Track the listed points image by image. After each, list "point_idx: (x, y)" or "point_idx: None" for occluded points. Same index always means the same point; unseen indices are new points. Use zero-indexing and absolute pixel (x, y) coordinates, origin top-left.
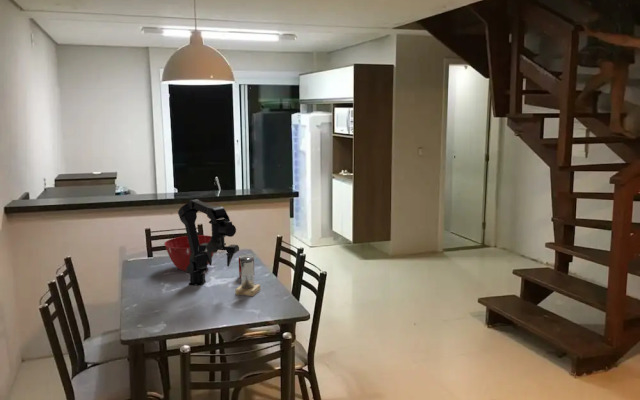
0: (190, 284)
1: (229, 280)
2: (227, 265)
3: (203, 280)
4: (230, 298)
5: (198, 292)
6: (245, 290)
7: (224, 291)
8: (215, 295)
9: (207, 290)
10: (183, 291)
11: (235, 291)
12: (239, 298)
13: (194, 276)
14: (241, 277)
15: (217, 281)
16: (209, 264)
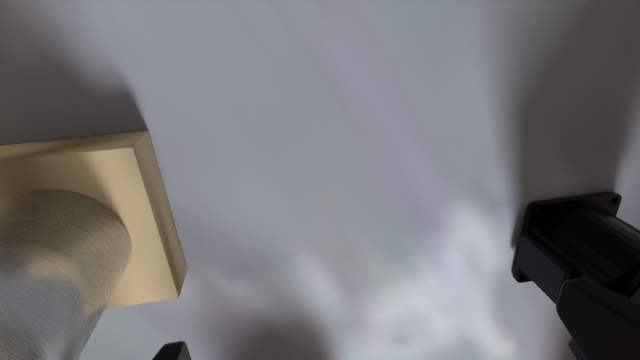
0: (604, 193)
1: (371, 346)
2: (173, 356)
3: (531, 253)
4: (115, 9)
5: (491, 66)
6: (14, 158)
7: (288, 161)
8: (309, 43)
9: (435, 135)
10: (622, 47)
11: (139, 139)
12: (27, 39)
13: (628, 238)
14: (38, 271)
15: (440, 308)
16: (594, 283)
